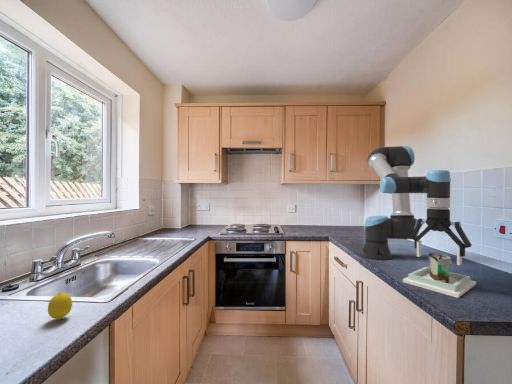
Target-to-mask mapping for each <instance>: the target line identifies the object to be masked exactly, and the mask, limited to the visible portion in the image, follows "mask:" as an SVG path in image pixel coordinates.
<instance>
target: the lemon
mask: <svg viewBox="0 0 512 384" xmlns="http://www.w3.org/2000/svg"><path fill="white" fill-rule="evenodd" d="M72 308H73V300H72V298H71V296H70V295H69V294H68V293H66V292H59V293H57V294H55V295H53V296H52V297H51V298H50V300H49V302H48V306H47V312H48V313H47V314H48V316H49V317H50V318H51V319H55V320H58V321H61V320H62V319H63V318H64V317H66V316H67V315H68V314H69V313H70V312H71V311H72Z"/></svg>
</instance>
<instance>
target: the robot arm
mask: <svg viewBox="0 0 512 384" xmlns="http://www.w3.org/2000/svg"><path fill="white" fill-rule="evenodd" d="M415 157H416V156H415V153H414V150H413V148H412V147H411V146H409V145H406V146H405V145H400V146H399V145H397V146H396V145H395V146H379V147H377V148H375V149H373V150H371V152H370V153H369V154H368V156H367V160H366V161H367V164H368V166H369V168H371V169H372V170H373V171H374V172H375V174H376V175H377V176H378V178H379V189H380V192H381V193H383V194H389V195H390V194H391V200H392V213H391V214H390V215H389V216H390V217H388V216H387V215H371V216H368V217H366V218H365V223H364V232H365V242H364V245H363V247H362V251H361V255H362V256H363V257H364V258H367V259H372V260H378V261H379V260H380V261H382V260H384V261H387V260H391V259H392V258H393V257H392V251H391V249H390V246H389V239H391V240H406V241H407V240H413V242H414V243H413V244H414V249H416V257H417V258H420V257H422V240H421V239H422V238H423V237H424V236H426V235H427V234H428V233H429V232H430V231H432V232H440V233H441V232H444V233H445V234H447V236H448V237H450V238H451V240H452V241H453V242H454V243H455V244H456V245H457V246H458V247H457V248H456V265H457V266H462V263H463V258H464V257H465V256H466V249H467V248H468V249H469V248H471V247H472V246H473V245H472V243H471V241H470V240H469V237H467V235H466V233H465V231H464V230H463V228H462V224H461V221H451V210H450V208H451V180H452V179H451V174H450V171H449V170H448V169H441V170H440V169H439V170H438V169H437V170H429V171H427V173H426V176H409V170H411V168H412V166H413V165H414V163H415ZM410 194H426V207H427V209H426V219H424V218H418V219H417V218H416V217H415V215H414V213H412V212H411V199H410V196H411V195H410ZM424 224H426V225H427V227H425V228H424V229H423V230H422V231H421V232H420V230H421V228H422V227H423V225H424ZM451 226H452V227H453V228H455V231H456V233H457V234H458V235H459V237H458V236H457V235H456V234H455V233H454V232H453V230H452V229H451V228H450V227H451Z"/></svg>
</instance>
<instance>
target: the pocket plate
mask: <svg viewBox="0 0 512 384" xmlns="http://www.w3.org/2000/svg"><path fill="white" fill-rule="evenodd" d="M402 283H404V284H408V285H412V286H416V287H419V288H423V289H425V290H430V291H433V292H437V293H440V294H443V295H447V296H450V297H453V298H457V299H458V298H461V296H463V295H464V294H466V293H467V292H468V291H469V290H471V289H472V288H473V287H475V286H476V285H477V281H475V280H472V279H471V276H470V275H465V274H461V273H456V272H451V271H450V274H449V283H444V282H440V281H436V280H433V279H432V278H431V277H430V276H429V266H424V267H421V268H419V269H418V270H415V271H412V272H409V273H408V274H407V277H404V278H402Z"/></svg>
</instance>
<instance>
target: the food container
mask: <svg viewBox="0 0 512 384" xmlns="http://www.w3.org/2000/svg"><path fill="white" fill-rule="evenodd" d="M427 257H428V267H429V276H430V277H431V278H432V279H433V280H436V281H440V282H444V283H449V274H450V272H451V265H453V260H452V258H451V256H449V255H447V254H442V253H438V252H432V251H431V252H429V251H428V255H427Z"/></svg>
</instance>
